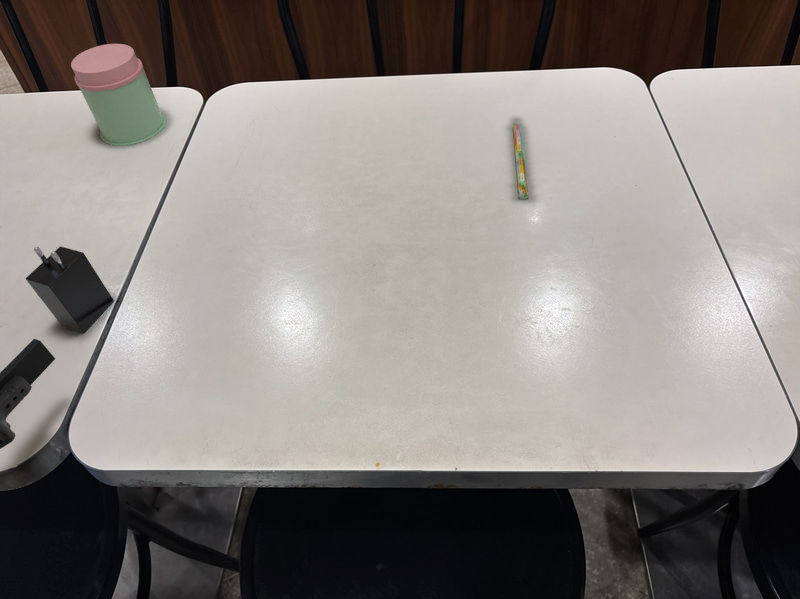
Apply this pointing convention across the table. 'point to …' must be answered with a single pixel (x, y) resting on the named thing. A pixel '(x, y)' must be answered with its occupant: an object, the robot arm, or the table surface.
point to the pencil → (520, 162)
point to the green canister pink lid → (118, 94)
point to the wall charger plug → (70, 288)
